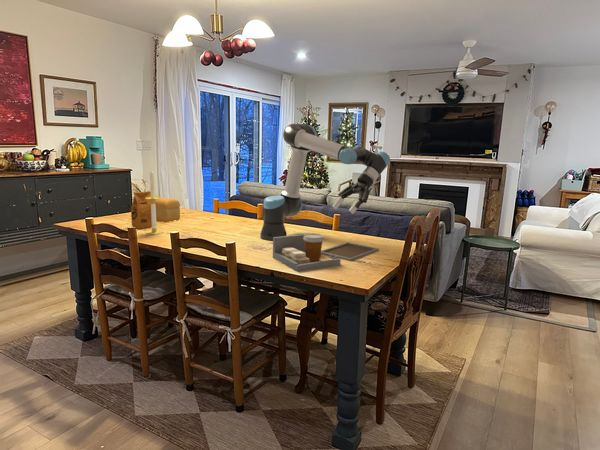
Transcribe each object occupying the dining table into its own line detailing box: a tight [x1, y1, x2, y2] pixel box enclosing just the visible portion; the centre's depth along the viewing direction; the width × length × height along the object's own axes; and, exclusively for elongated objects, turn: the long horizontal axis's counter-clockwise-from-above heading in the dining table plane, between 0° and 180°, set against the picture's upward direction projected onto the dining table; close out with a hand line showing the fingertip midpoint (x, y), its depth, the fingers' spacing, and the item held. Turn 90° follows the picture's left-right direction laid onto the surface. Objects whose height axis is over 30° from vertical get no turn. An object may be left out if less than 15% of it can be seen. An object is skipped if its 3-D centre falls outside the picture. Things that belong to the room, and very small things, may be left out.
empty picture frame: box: [320, 242, 379, 262], centre depth 212 cm, size 19×2×30 cm
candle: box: [145, 168, 161, 235], centre depth 240 cm, size 10×10×38 cm
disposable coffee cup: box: [303, 233, 324, 263], centre depth 195 cm, size 10×10×12 cm
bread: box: [155, 195, 181, 223], centre depth 282 cm, size 24×13×15 cm, turn 63°
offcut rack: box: [272, 232, 342, 272], centre depth 194 cm, size 23×23×10 cm
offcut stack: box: [281, 247, 311, 264], centre depth 191 cm, size 18×6×6 cm, turn 35°
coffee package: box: [130, 190, 152, 230], centre depth 255 cm, size 10×12×22 cm
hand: (342, 210), depth 203 cm, fingers open, 13 cm apart
